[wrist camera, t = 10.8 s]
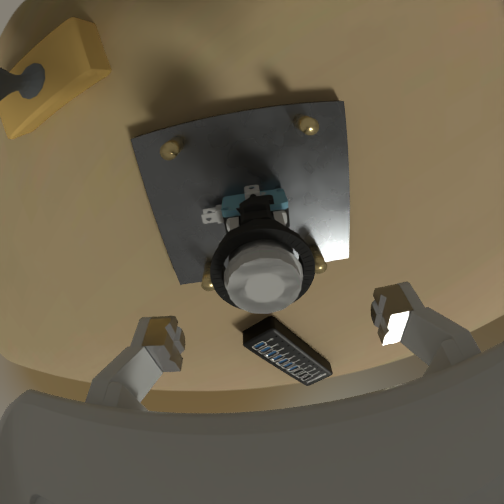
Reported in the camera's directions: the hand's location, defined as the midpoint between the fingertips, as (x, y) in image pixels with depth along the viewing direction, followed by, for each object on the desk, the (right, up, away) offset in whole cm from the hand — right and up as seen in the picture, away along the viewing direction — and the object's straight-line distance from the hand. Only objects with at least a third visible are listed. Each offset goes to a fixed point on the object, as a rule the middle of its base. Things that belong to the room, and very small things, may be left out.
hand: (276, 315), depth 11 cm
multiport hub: (+4, -10, +23) cm, 26 cm away
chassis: (-1, +7, +11) cm, 13 cm away
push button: (-1, +6, +11) cm, 13 cm away
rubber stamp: (-17, +17, +4) cm, 25 cm away
